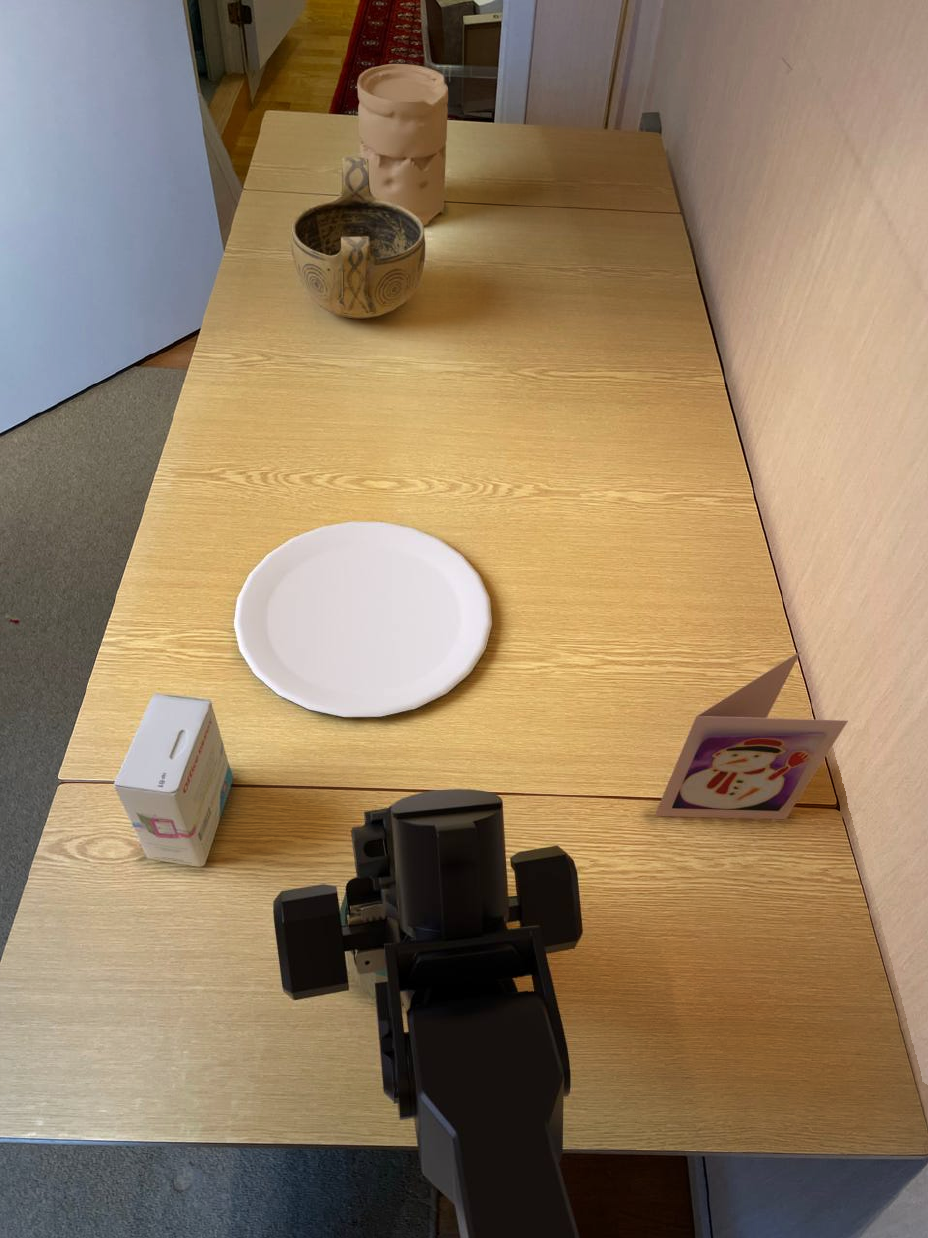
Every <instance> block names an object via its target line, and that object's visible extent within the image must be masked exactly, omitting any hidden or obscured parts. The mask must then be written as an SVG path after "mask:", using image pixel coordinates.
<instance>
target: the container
mask: <svg viewBox="0 0 928 1238" xmlns="http://www.w3.org/2000/svg"><path fill="white" fill-rule="evenodd" d="M356 85H357V86H356V87H357V98H358V101H359V103H358V107H357V114H358V115H357V117H358V121H357V122H358V136H359V139H360V144H359V149H358V155H359V156H358V157H360V158H367V159H368V163H369V186H370V191H371V194H372V195H373V196H374V197H375V198H376V199H378V200H382V201H387V202H391V203H394V204H396V205H399V206H402V207H404V208H405V209H407V210H409V211H410V212H412V213H413V214H414V215H416V216H417V217H418V218H419V219H420V221H421V222H422V224H423V226H424V227H425V226H427V225H429V222H430V221H432V220H433V218H435V216H438V214H443V213H444V210H445V209H444V208H445V198H444V195H445V189H446V188H445V186H446V162H447V161H446V160H447V139H448V116H449V115H448V113H449V109H448V108H449V107H448V102H449V88H448V85H447V84H446V81H445V78H444V75H443V74H442V73H440V72H439V71H437V70H435V69H431V68H429V67H425V66H422V65H417V64H407V63H389V64H387V63H386V64H383V65H379V66H372V67H370V68H367V69H365V71H362V72H361V73H360V74H359V75H358V78H357V83H356Z"/></svg>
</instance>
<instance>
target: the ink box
mask: <svg viewBox="0 0 928 1238" xmlns="http://www.w3.org/2000/svg"><path fill="white" fill-rule="evenodd" d="M149 700H150V701H149V702H148V705H147V707H146V709H145V711H144V714H143V716H142V718H141V721H140V723H139V725H138V728H137V730H136V733H135V735H134V737H133V739H132V741H131V744H130V746H129V749H128V751H127V753H126V755H125V758H124V760H123V762H122V764H121V767H120V769H119V771H118V774H117V776H116V777H115V780H114V783H113V788H114V790H115V792H116V794H117V796H118V798H119V801H120V803H121V805H122V808H123V809H124V811H125V813H126V815H127V817H128V820H129V822H130V824H131V826H132V828H133V830H134V832H135V835H136V836H137V838H138V841H139V843H140V845H141V847H142V849H143V851H144V853H145V856H146V858H147V859H149V860H153V861H158V862H164V863H172V864H178V865H184V866H190V867H191V866H193V867H198V868H199V867H201V868H202V867H204V866H205V864H207V859H208V857H209V854H210V851H211V848H212V844H213V841H214V839H215V836H216V832H217V829H218V827H219V823H220V821H221V818H222V814H223V811H224V808H225V805H226V802H227V800H228V797H229V794H230V791H231V787H232V785H233V781H234V776H233V773H232V771H231V770H232V769H231V767H230V763H229V760H228V756H227V752H226V749H225V745H224V741H223V738H222V735H221V732H220V727H219V724H218V721H217V718H216V714H215V711H214V707H213V703H212V701H211V700H210V699H209V698H202V697H195V696H189V695H188V696H186V695H177V694H165V693H153V694H152V696H151V698H150V699H149Z"/></svg>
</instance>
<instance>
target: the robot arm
mask: <svg viewBox="0 0 928 1238" xmlns="http://www.w3.org/2000/svg"><path fill="white" fill-rule="evenodd" d="M363 816H364V824H363V825H359V826H353V827H352V828H351V829H350V837H351V844H352V852H353V860H354V868H355V874H356V877H357V878H356V877H352V878H351V879H349V880H348V881H347V883H346V885H345V893H346V898H347V907H348V915H347V918H348V925H342V924H341V916H340V908H341V907H340V902H339V893H338V887H337V885H330V884H324V883H322V884H314V885H309V886H304V887H296V888H291V889H285V890H281V891H280V892H279V893H278V895H277V896H276V897H275V899H273V901H272V902H273V904H272V905H273V907H272V914H273V924H274V925H273V926H274V933H275V941H276V949H277V955H278V962H279V972H280V979H281V987H282V992H283V993H284V994H286V996H288V997H289V998H290V999H292V1000H293V1001H299V1000H305V999H310V998H315V997H321V996H326V995H331V994H337V993H342V992H348V991H350V983H349V976H348V975H349V973H348V969H347V966H346V957H345V952H346V951H352V950H353V957H354V963H355V965H356V967H357V972H358V974H360V975H364V974H369V973H375V972H380V971H386V980H387V982H379V983H375V997H376V999H375V1007H376V1008H375V1009H376V1018H377V1019H376V1020H377V1031H378V1033H377V1034H378V1044H379V1055H380V1067H381V1079H382V1090H383V1094H384V1095H385V1096H386V1097H388V1098H389V1099H390V1100H391V1101H392V1102H393V1104H394V1105H395V1104H396V1105H397V1111H398V1116H399V1117H398V1118H399V1120H400V1121H402V1120H409V1119H413V1122H414V1127H415V1128H414V1130H415V1136H416V1143H417V1150H418V1151H417V1152H418V1156H419V1164H420V1170H421V1173H422V1176H424V1177H425V1178H426V1179H427V1180H428V1181H429V1182H430V1183H431V1184H432V1185H433V1186H434V1187H435V1188H436V1189H438V1190H439V1192H441V1194H442V1195H444V1196H445V1197H446V1198H447V1199H448V1200H449V1201H450V1202H451V1203H452V1204H453V1205H454V1208H455V1215H456V1219H457V1225H458V1230H459V1236H460V1238H581V1237H580V1234H579V1231H578V1227H577V1223H576V1220H575V1217H574V1213H573V1209H572V1205H571V1201H570V1198H569V1194H568V1193H567V1191H568V1190H567V1189H566V1184H565V1181H564V1177H563V1173H562V1170H561V1167H560V1162H561V1160H562V1157H563V1153H564V1101H565V1100H564V1099H565V1098H564V1097H569V1095H570V1093H571V1087H572V1085H571V1084H572V1082H571V1081H572V1080H571V1079H572V1078H571V1077H572V1074H571V1064H570V1063H571V1062H570V1055H569V1048H568V1044H567V1039H566V1034H565V1030H564V1026H563V1022H562V1016H561V1013H560V1007H559V1003H558V999H557V994H556V990H555V986H554V982H553V977H552V973H551V969H550V964H549V960H548V956H547V955H549V954H554V953H560V952H565V951H570V950H575V949H576V947H577V946H578V944H579V942H580V940H581V939H582V936H583V933H584V929H583V918H582V906H581V896H580V887H579V875H578V870H577V866H576V864H575V860H574V859H573V858H572V857H571V856H570V854H569V853H568V852H567V851H566V850H564V849H563V848H561V847H560V846H559V845H551V846H546V847H540V848H539V847H538V848H533V849H528V850H522V851H521V850H520V851H518V852H516V853H515V854H513V855H512V856H510V857H509V861H510V867H511V869H512V870H513V873H514V880H515V881H514V882H515V891H516V895H511V896H509V886H508V885H509V884H508V870H507V869H508V868H507V867H508V866H507V853H506V850H507V849H506V833H505V819H504V818H505V817H504V801H503V799H502V797H500V796H499V795H498V794H495V793H494V792H491V791H490V792H489V791H485V790H480V789H471V788H469V789H468V788H466V789H465V788H453V789H452V788H451V789H450V788H449V789H448V788H447V789H436V790H429V791H423V792H420V793H416V794H415V793H414V794H412V795H411V794H410V795H408V796H406V797H405V796H404V797H403V798H401V799H399V800H397V801H395V802H394V803H393V804H391V805H389V807H384V808H379V809H371V810H364V811H363ZM514 922H515V923H516V922H519V927H514V928H509V927H508V925H507V924H509V923H514ZM523 977H531V980H532V987H533V990H521V991H519V989H518V986H517V984H516V981H515V980H514V979H517V978H523ZM400 992H401V995H402V998H403V1002H404V1005H401V997H400ZM403 1006H404V1009H405V1013H406V1023H407V1031H405V1027H404V1016H403V1015H404V1014H403Z"/></svg>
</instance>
